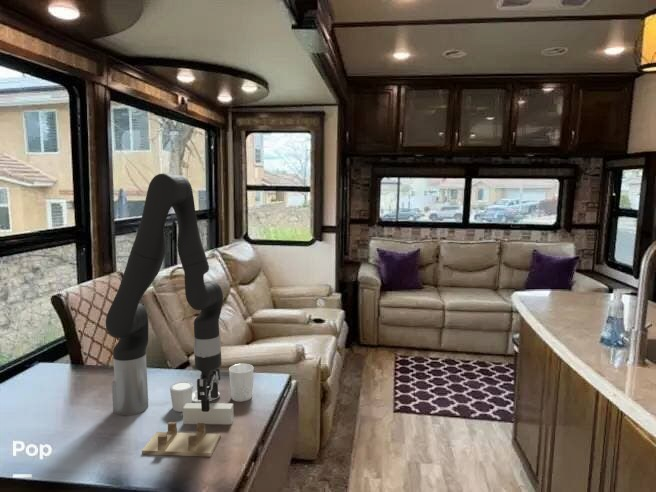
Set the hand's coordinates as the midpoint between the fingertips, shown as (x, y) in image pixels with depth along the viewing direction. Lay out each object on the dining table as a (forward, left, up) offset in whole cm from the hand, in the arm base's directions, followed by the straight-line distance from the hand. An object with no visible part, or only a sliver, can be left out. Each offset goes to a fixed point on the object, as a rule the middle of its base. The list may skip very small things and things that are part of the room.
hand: (210, 404), depth 133 cm
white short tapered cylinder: (-12, +8, -6) cm, 15 cm away
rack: (-4, -13, -5) cm, 15 cm away
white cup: (+5, +16, -6) cm, 18 cm away
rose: (-6, +15, -6) cm, 17 cm away
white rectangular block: (-1, 0, -6) cm, 6 cm away
